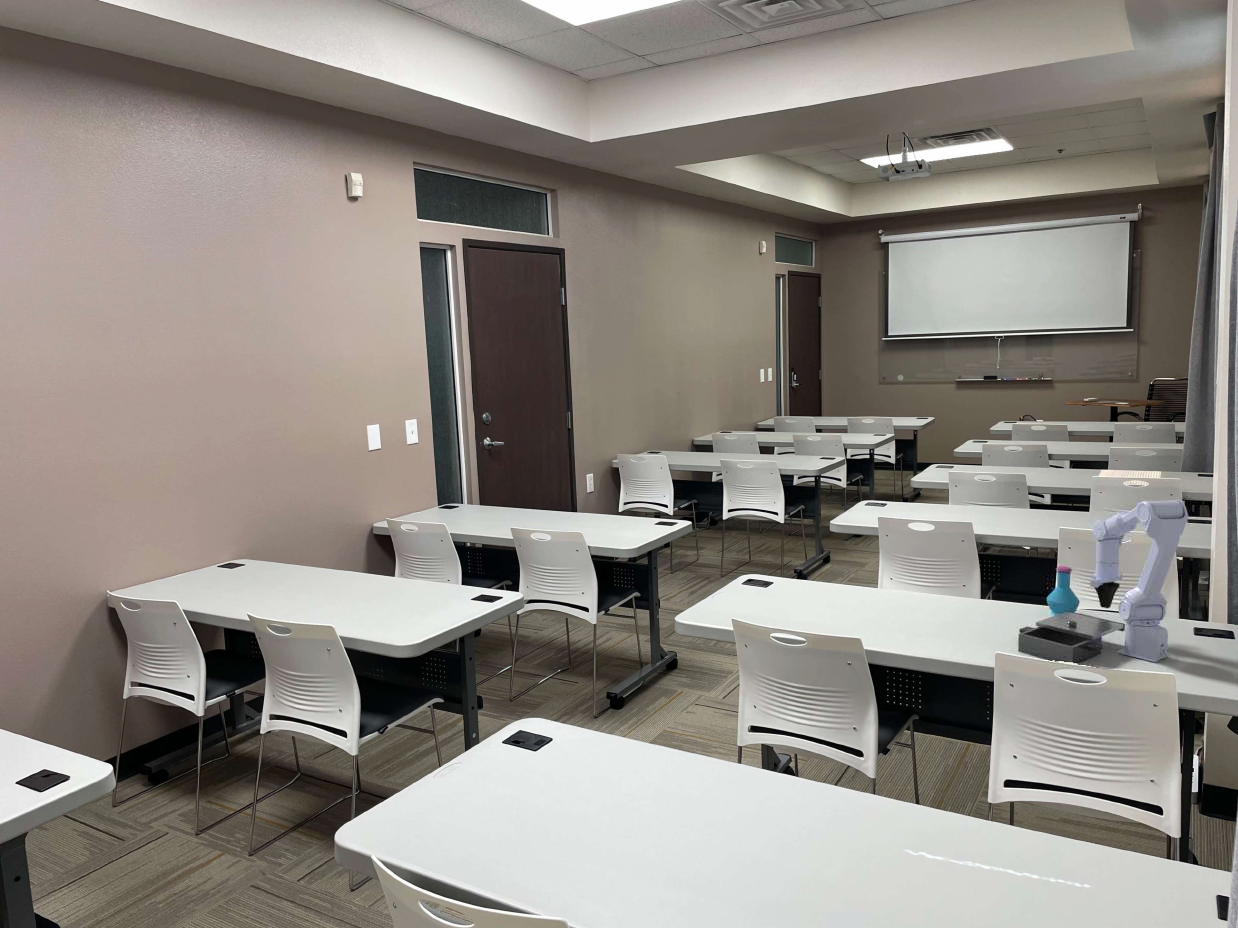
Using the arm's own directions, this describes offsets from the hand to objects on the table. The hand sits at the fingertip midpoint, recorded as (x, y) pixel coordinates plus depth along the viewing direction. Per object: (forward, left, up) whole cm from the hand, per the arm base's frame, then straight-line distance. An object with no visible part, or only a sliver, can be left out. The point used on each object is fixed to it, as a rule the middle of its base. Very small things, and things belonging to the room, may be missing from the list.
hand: (1105, 607), depth 249 cm
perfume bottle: (+18, -10, -8) cm, 22 cm away
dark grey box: (0, +25, -8) cm, 26 cm away
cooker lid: (0, +14, -4) cm, 15 cm away
